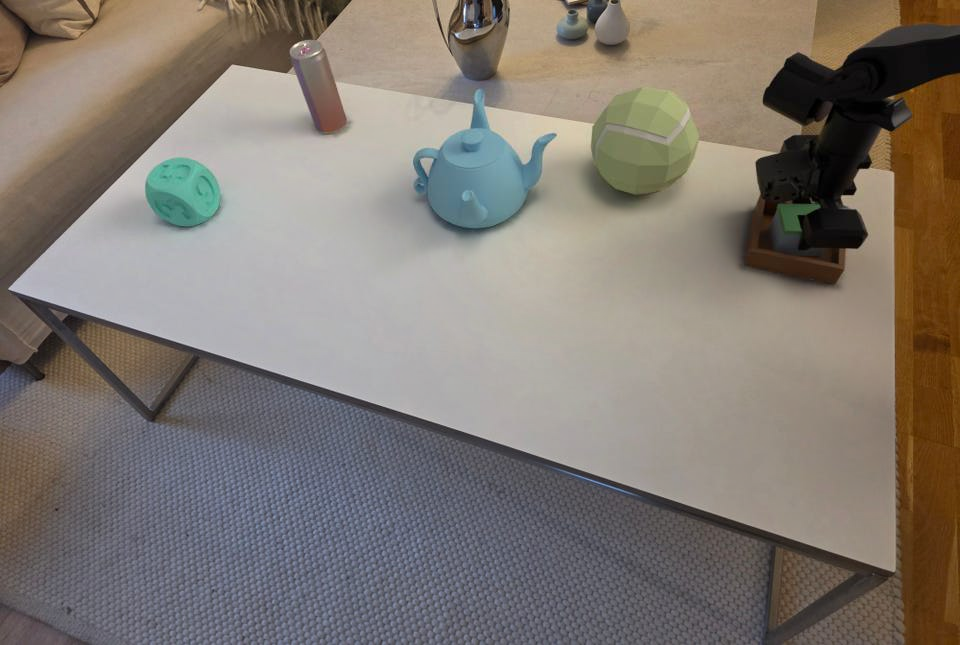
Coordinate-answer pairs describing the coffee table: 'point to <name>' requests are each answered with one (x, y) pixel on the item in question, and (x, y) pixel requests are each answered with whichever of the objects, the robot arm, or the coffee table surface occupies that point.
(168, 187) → the decorative dice
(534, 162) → the teapot
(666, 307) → the coffee table surface
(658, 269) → the coffee table surface
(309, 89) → the beverage can
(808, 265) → the tray
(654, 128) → the tennis ball
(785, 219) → the container
